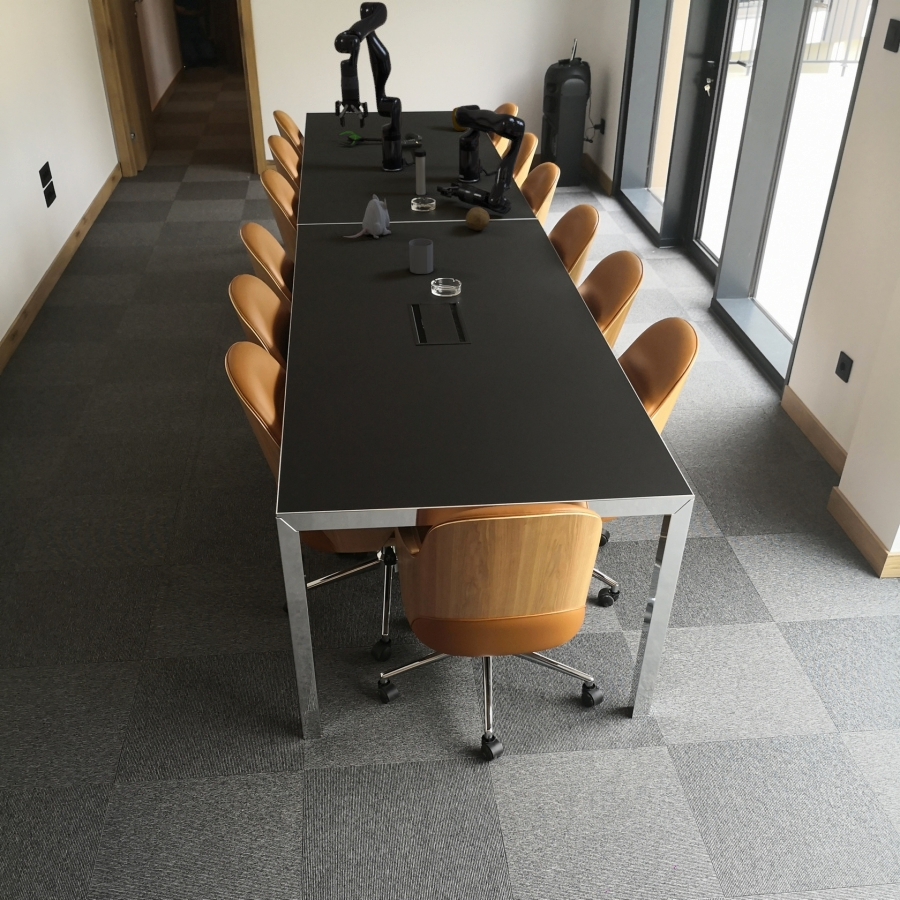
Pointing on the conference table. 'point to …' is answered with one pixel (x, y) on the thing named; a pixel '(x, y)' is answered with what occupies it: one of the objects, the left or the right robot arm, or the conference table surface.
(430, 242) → the cup
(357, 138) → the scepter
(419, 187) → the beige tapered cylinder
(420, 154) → the lid
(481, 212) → the potato
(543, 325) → the conference table surface
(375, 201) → the toy
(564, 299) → the conference table surface
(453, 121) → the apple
